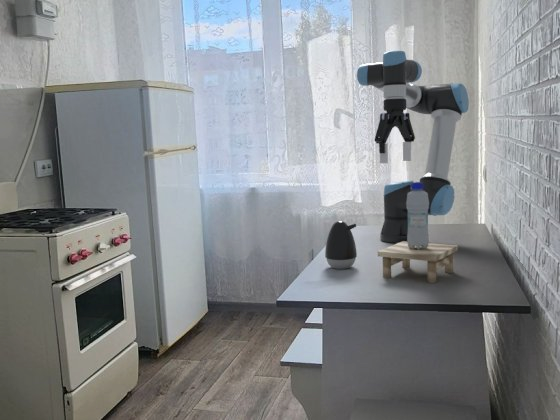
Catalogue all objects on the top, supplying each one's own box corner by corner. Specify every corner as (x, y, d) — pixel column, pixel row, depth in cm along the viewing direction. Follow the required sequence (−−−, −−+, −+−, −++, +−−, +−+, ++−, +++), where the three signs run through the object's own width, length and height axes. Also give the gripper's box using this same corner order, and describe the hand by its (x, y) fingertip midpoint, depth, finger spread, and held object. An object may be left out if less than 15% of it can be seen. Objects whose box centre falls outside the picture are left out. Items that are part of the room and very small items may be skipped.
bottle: (406, 250, 181) (405, 183, 178) (406, 246, 187) (405, 181, 185) (429, 250, 180) (429, 182, 177) (429, 246, 186) (428, 180, 184)
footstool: (402, 265, 197) (402, 241, 196) (457, 271, 186) (457, 245, 185) (378, 277, 182) (377, 251, 181) (436, 284, 172) (435, 256, 171)
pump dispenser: (353, 271, 191) (352, 223, 189) (321, 270, 195) (320, 223, 193) (360, 264, 201) (359, 219, 199) (330, 263, 204) (329, 218, 202)
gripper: (406, 99, 216) (407, 159, 218) (363, 98, 198) (364, 164, 201) (424, 98, 210) (425, 159, 213) (381, 97, 193) (383, 164, 196)
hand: (395, 162), depth 207 cm, fingers open, 13 cm apart
